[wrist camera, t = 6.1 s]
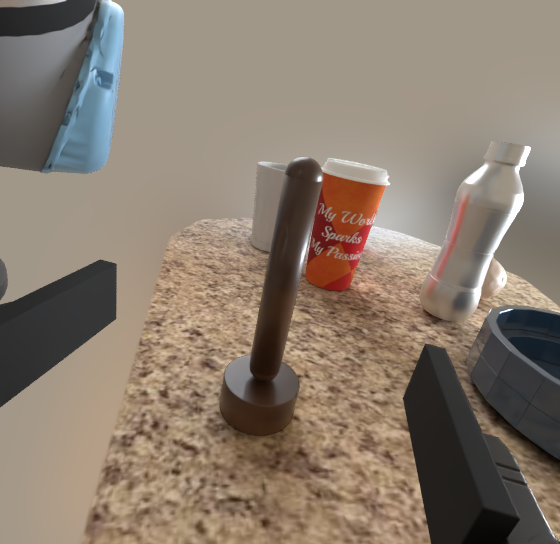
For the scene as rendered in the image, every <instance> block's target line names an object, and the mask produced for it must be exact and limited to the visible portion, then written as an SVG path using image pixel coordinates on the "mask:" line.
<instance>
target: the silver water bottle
mask: <svg viewBox="0 0 560 544" xmlns="http://www.w3.org/2000/svg"><path fill="white" fill-rule="evenodd" d="M529 151H530V147H527V146H522V145H517V144H512V143H506V142H498V141H492V142H491V143H490V146H489V148H488V151H487V153H486V154H485V156H484V159H486V162H485V163H484V165H483V166H482V167H481V168H479V169H478V170H476V171H475V172H474V173H472V174H471V175H470V176H469V177H468V178H466V179H465V180H464V181H463V182H462V184H461V185H460V187H459V188H458V191H457V194H456V199H455V203H454V207H453V212H452V216H451V220H450V224H449V227H448V230H447V234H446V235H447V236H446V238H445V240H444V243H443V246H442V248H441V250H440V252H439V254H438V256H437V259H436V261H435V263H434V265H433V267H432V269H431V271H430V272H429V273H428V275H427V276H426V278H425V280H424V282H423V284H422V286H421V290H420V296H419V299H420V303H421V306H422V307H423V308H424V309H425V310H426V311H427V312H429V313H430V314H432V315H434V316H436V317H438V318H440V319H443V320H446V321H451V322H463V321H465V320H467V319H468V318H470V317H471V316H472V314H473V313H474V311H475V310H476V308H477V306H478V303H479V299H480V296H481V290H482V289H481V287H482V285H483V282H484V279H485V276H486V273H487V270H488V267H489V264H490V261H491V259H492V257H493V255H494V251H495V250H496V249H497V247H498V245H499V243H500V241H501V239H502V237H503V236H504V234H505V232H506V231H507V229H508V228H509V226H510V224H511V223H512V221H513V220H514V218H515V216H516V214H517V212H519V210H520V208H521V206H522V204H523V196H524V194H523V188H522V183H521V180H520V176H519V173H518V172H519V168H520V167H521V166H524V165H525V163H526V162H525V160H526V158H527V156H528V153H529Z"/></svg>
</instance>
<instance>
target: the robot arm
mask: <svg viewBox="0 0 560 544" xmlns="http://www.w3.org/2000/svg"><path fill="white" fill-rule="evenodd" d="M123 35H124V12H123V10H122V8H121V7H120V6H119V5H118V4H116V3H114V2H111V0H0V166H3V167H10V168H18V169H25V170H33V171H40V172H41V173H49V172H66V173H80V174H88V173H92V172H95V171H97V170H99V169H101V168H102V167H103V166H104V165H105V163H106V162H107V160H108V157H109V152H110V147H111V140H112V133H113V127H114V119H115V111H116V103H117V95H118V85H119V76H120V67H121V58H122V57H121V56H122V47H123ZM115 319H116V264H115V263H111V262H108V261H104V260H98V261H96V262H94V263H92V264H90V265H88V266H86V267H84V268H82V269H80V270H78V271H76V272H74V273H72V274H70V275H67V276H65V277H63V278H61V279H59V280H57V281H55V282H53V283H51V284H48V285H46V286H44V287H42V288H40V289H38V290H36V291H34V292H32V293H30V294H28V295H26V296H24V297H22V298H19V299H18V300H15V301H13V302H9V303H5V304H1V305H0V407H1V406H3V405H4V404H5V403H7V402H8V401H9V400H11V399H12V398H13V397H14V396H16V395H17V394H18V393H20V392H21V391H22V390H24V389H25V388H26V387H28V386H29V385H30V384H31V383H33V382H34V381H35V380H37V379H38V378H39V377H40V376H42V375H43V374H45V373H46V372H47V371H49V370H50V369H51V368H52V367H54V366H55V365H56V364H58V363H59V362H60V361H62V360H63V359H64V358H66V357H67V356H68V355H69V354H71V353H72V352H73V351H75V350H76V349H77V348H79V347H80V346H81V345H83V344H84V343H85V342H86V341H88V340H89V339H90V338H92V337H93V336H94V335H96V334H97V333H98V332H99V331H101V330H102V329H103V328H105V327H106V326H107V325H108V324H110V323H111V322H113V321H114V320H115ZM403 401H404V406H405V411H406V416H407V421H408V426H409V432H410V437H411V442H412V447H413V452H414V457H415V462H416V468H417V473H418V478H419V483H420V488H421V493H422V498H423V504H424V509H425V514H426V519H427V524H428V529H429V534H430V539H431V544H560V542H559V541H558V540H556V538H555V536H554V535H553V533H552V531H551V529H550V527H549V525H548V523H547V521H546V519H545V517H544V515H543V513H542V511H541V509H540V507H539V505H538V503H537V501H536V499H535V497H534V495H533V493H532V491H531V489H530V487H528V486H527V484H528V483H527V481H526V479H525V477H524V475H523V473H521V472H520V471H521V469H520V468H519V466H518V464H517V462H516V460H515V458H514V456H513V454H512V453H511V451H510V450H509V449H508V448H507V447H506V446H505V445H504V444H503V442H502V441H501V440H500V439H499V438H498V437H494V436H491V435H487V434H484V433H482V431H481V428H480V426H479V424H478V422H477V419H476V417H475V415H474V413H473V410H472V408H471V406H470V404H469V401H468V399H467V397H466V394H465V392H464V390H463V388H462V385H461V383H460V381H459V379H458V376H457V374H456V372H455V370H454V367H453V365H452V363H451V360H450V358H449V356H448V354H447V351H446V349H444V348H441V347H437V346H433V345H429V344H425V346H424V348H423V350H422V353H421V355H420V358H419V360H418V363H417V365H416V368H415V370H414V372H413V375H412V377H411V380H410V382H409V385H408V387H407V390H406V392H405V394H404V397H403Z"/></svg>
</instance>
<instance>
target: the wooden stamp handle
mask: <svg viewBox="0 0 560 544" xmlns="http://www.w3.org/2000/svg"><path fill="white" fill-rule="evenodd" d="M322 182H323V172H322V169H321V167H320V165H319V164H318V163H317V162H316V161H315V160H314V159H312V158H308V157H299V158H296V159H294V160H293V161H291V162H290V164H289V165H288V166H287V168H286V170H285V173H284V179H283V184H282V190H281V195H280V200H279V206H278V211H277V217H276V222H275V227H274V233H273V238H272V244H271V249H270V255H269V260H268V265H267V271H266V276H265V282H264V287H263V292H262V298H261V303H260V309H259V314H258V320H257V325H256V330H255V336H254V341H253V347H252V352H251V355H245V356H242V357H239V358H237V359H235V360H233V361H232V362H231V363H230V364H229V365H228V366H227V368H226V369H225V372H224V377H223V384H222V390H221V397H220V410H221V412H222V415H223V417H224V418H225V419H226V421H227V422H228V423H229V424H230V425H231V426H233V427H234V428H236V429H237V430H239V431H242V432H244V433H247V434H251V435H270V434H274V433H276V432H279V431H280V430H282V429H283V428H285V427H286V426H287V425H288V423H289V422H290V420H291V418H292V415H293V411H294V407H295V403H296V399H297V396H298V392H299V379H298V377H297V375H296V373H295V372H294V370H293V369H292V368H291V367H290V366H288V365H287V364H286V363H284V362H282V358H283V354H284V349H285V345H286V340H287V336H288V332H289V327H290V323H291V318H292V314H293V310H294V305H295V301H296V296H297V292H298V288H299V283H300V279H301V274H302V270H303V266H304V261H305V257H306V252H307V248H308V244H309V239H310V235H311V230H312V226H313V222H314V217H315V213H316V208H317V204H318V200H319V195H320V191H321V187H322Z"/></svg>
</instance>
